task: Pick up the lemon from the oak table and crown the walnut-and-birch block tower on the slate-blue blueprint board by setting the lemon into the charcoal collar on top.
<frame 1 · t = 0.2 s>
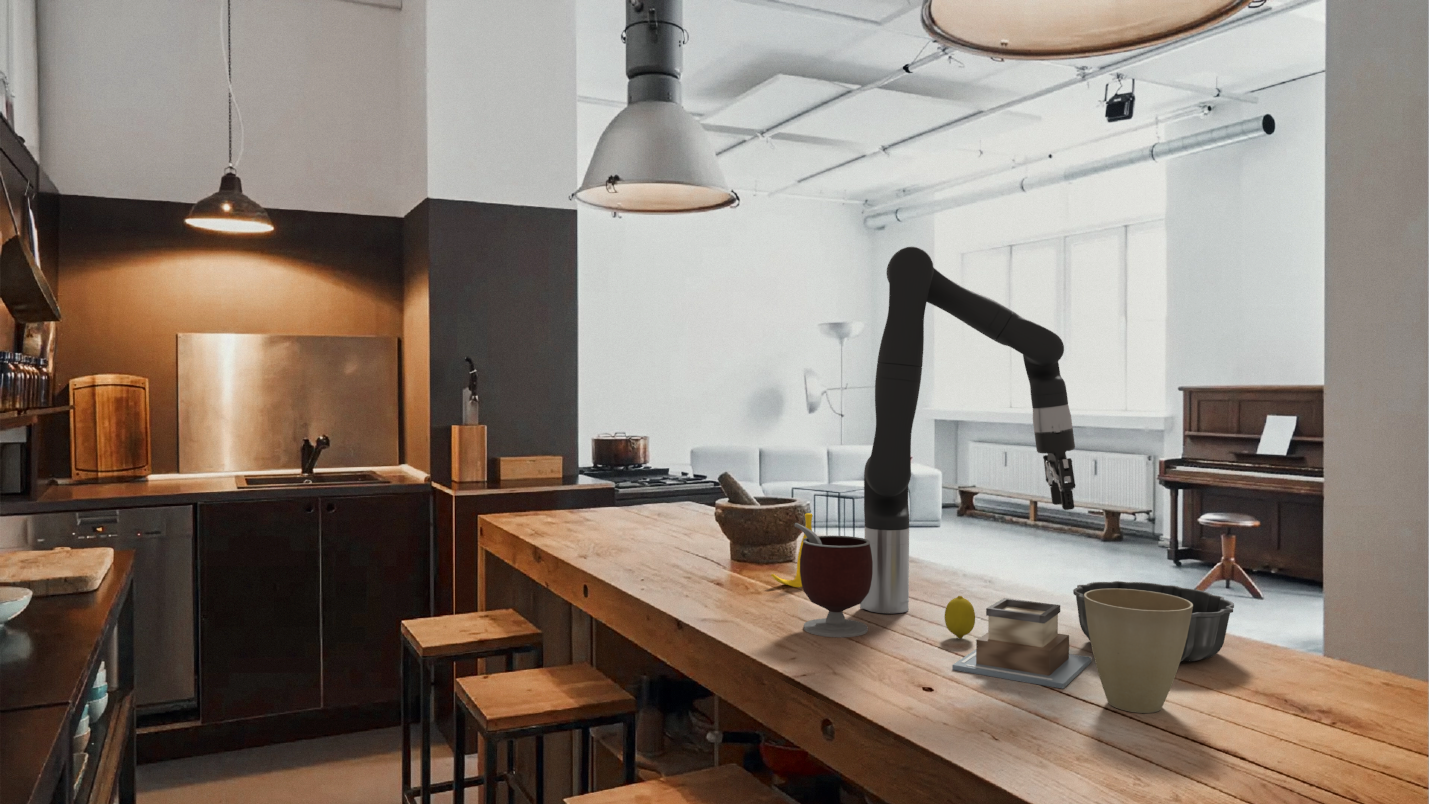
hand: (1063, 506, 205), 22 cm above the counter, tool pointing down, fingers open, 8 cm apart
bundt pan: (1150, 651, 179), on the counter
blueprint board: (1022, 665, 169), on the counter
block tower: (1023, 633, 169), on the blueprint board, point 5 cm above the counter
mate gourd: (831, 629, 193), on the counter
plant pot: (1135, 706, 149), on the counter
lemon: (959, 639, 186), on the counter
banana peel: (800, 586, 235), on the counter
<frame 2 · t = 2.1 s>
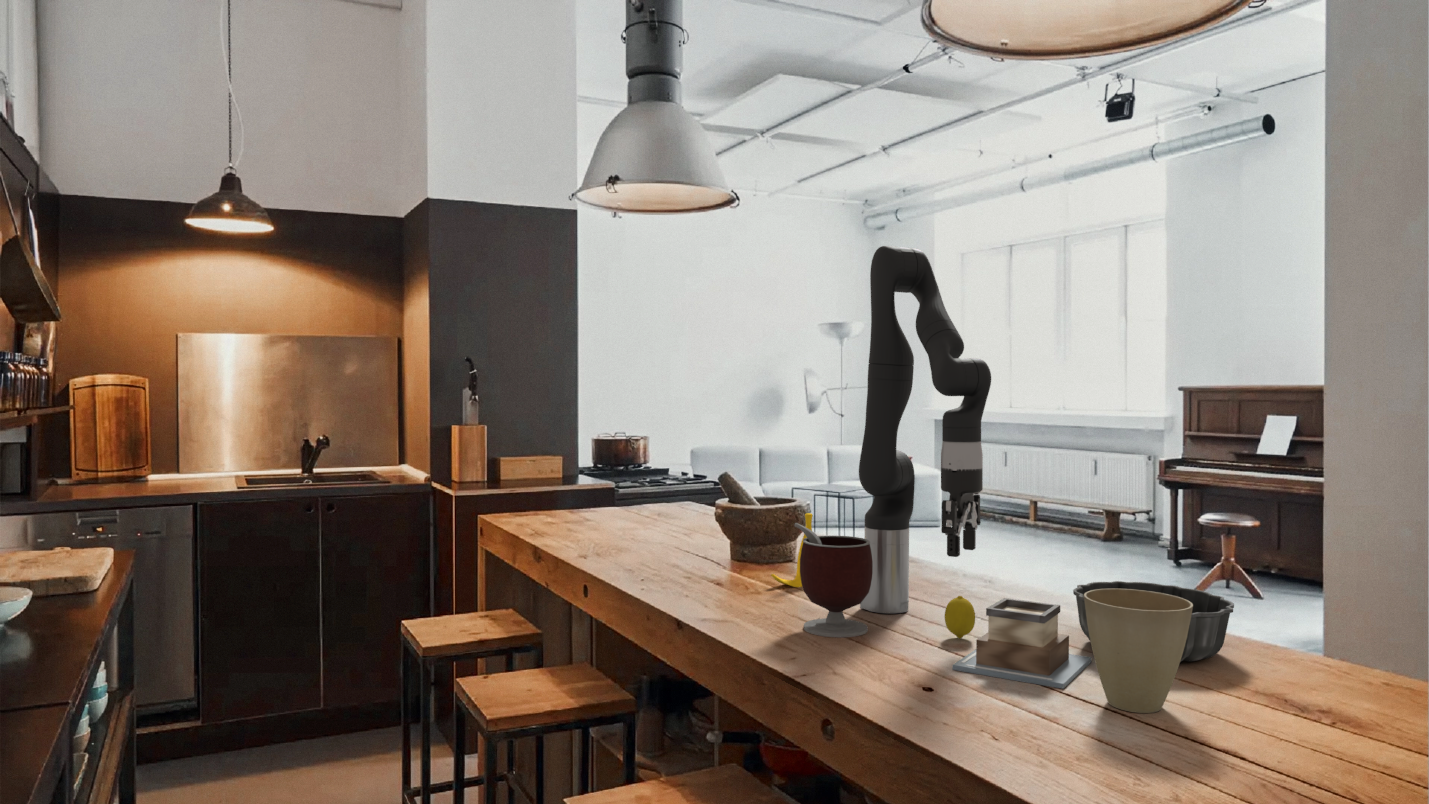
hand: (961, 553, 186), 16 cm above the counter, tool pointing down, fingers open, 8 cm apart
nothing on the counter moved.
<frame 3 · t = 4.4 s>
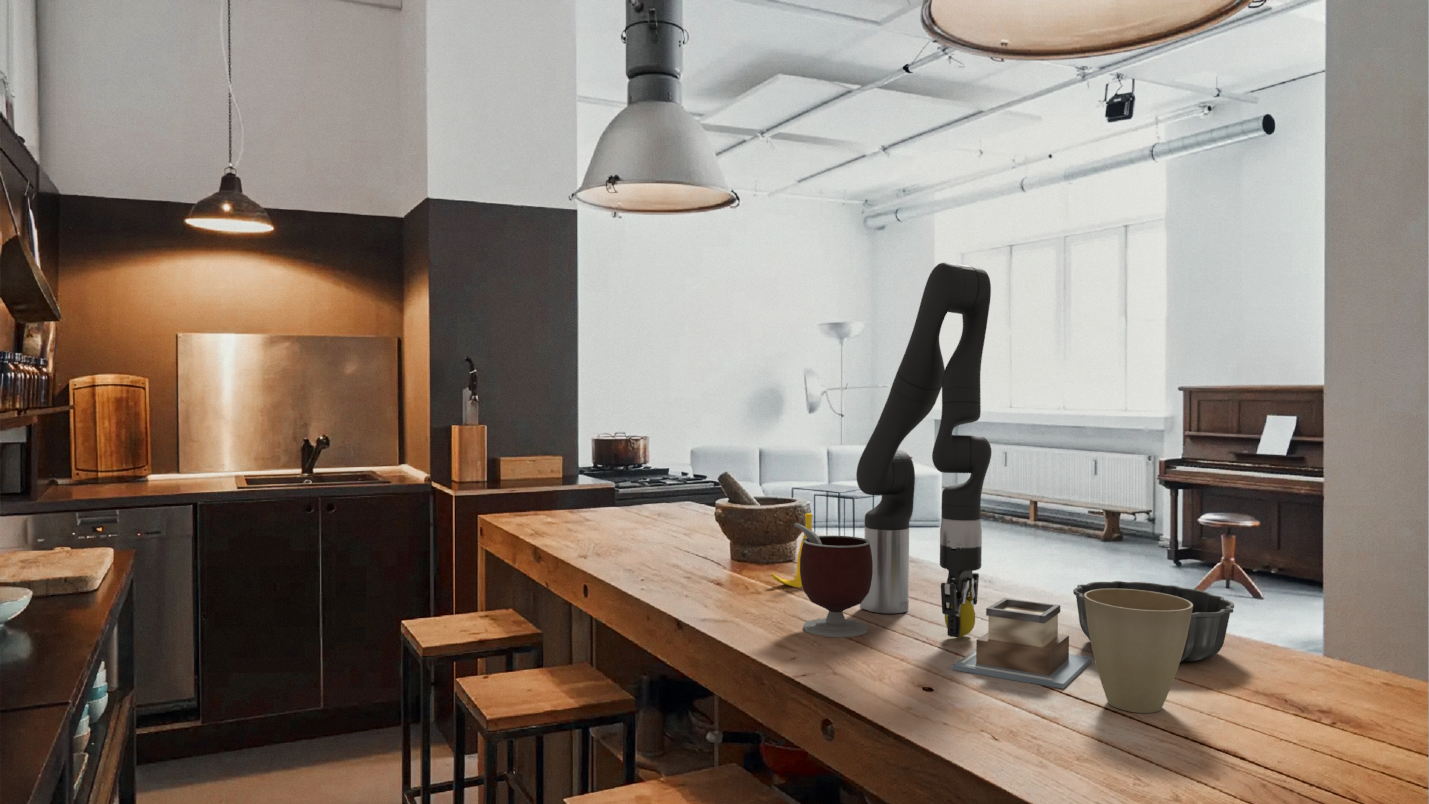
hand: (959, 632, 186), 1 cm above the counter, tool pointing down, fingers closed on lemon, 5 cm apart
lemon: (959, 639, 186), on the counter, touching gripper
everything else where it was.
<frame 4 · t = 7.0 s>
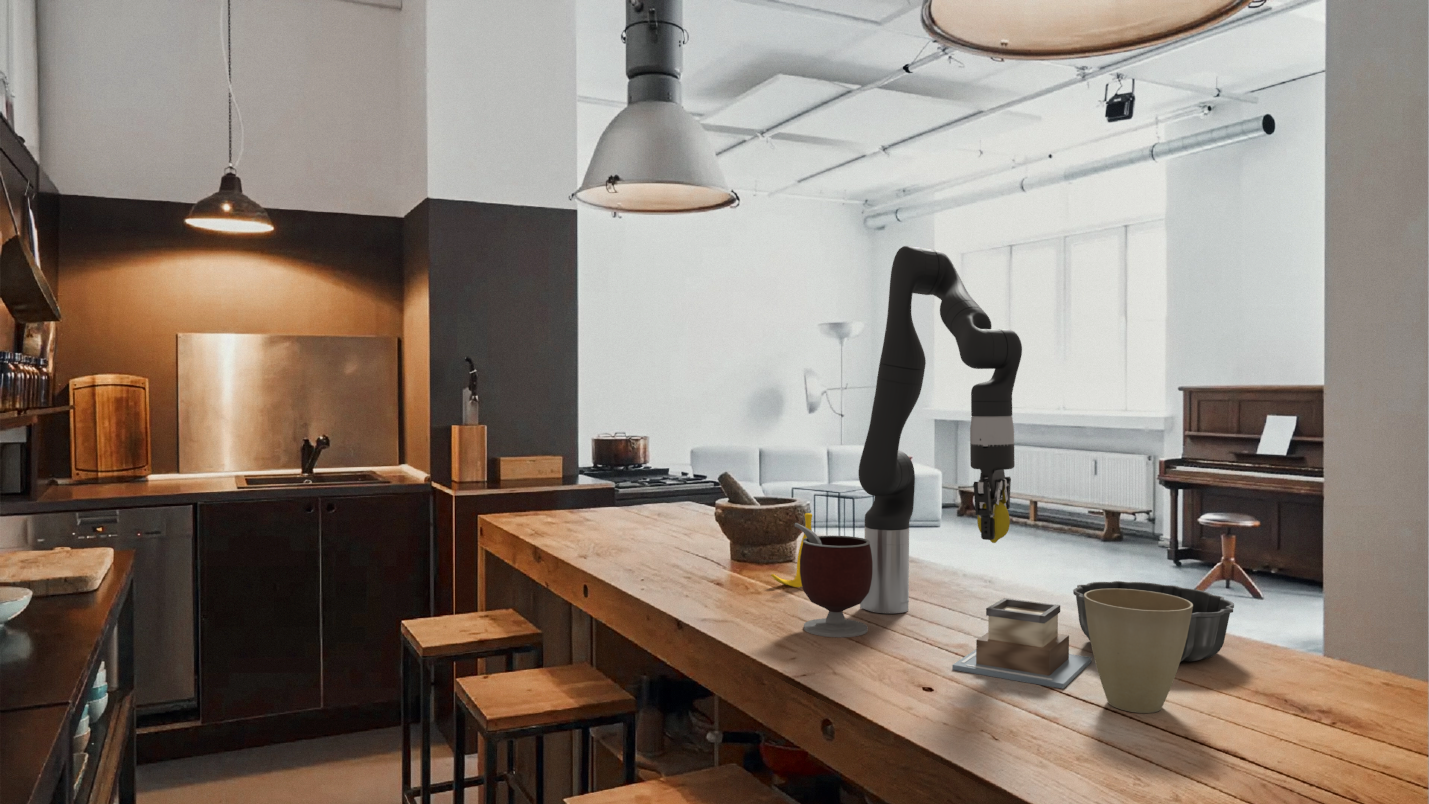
hand: (993, 536, 177), 20 cm above the counter, tool pointing down, fingers closed on lemon, 5 cm apart
lemon: (993, 544, 177), point 19 cm above the counter, touching gripper
everything else where it was.
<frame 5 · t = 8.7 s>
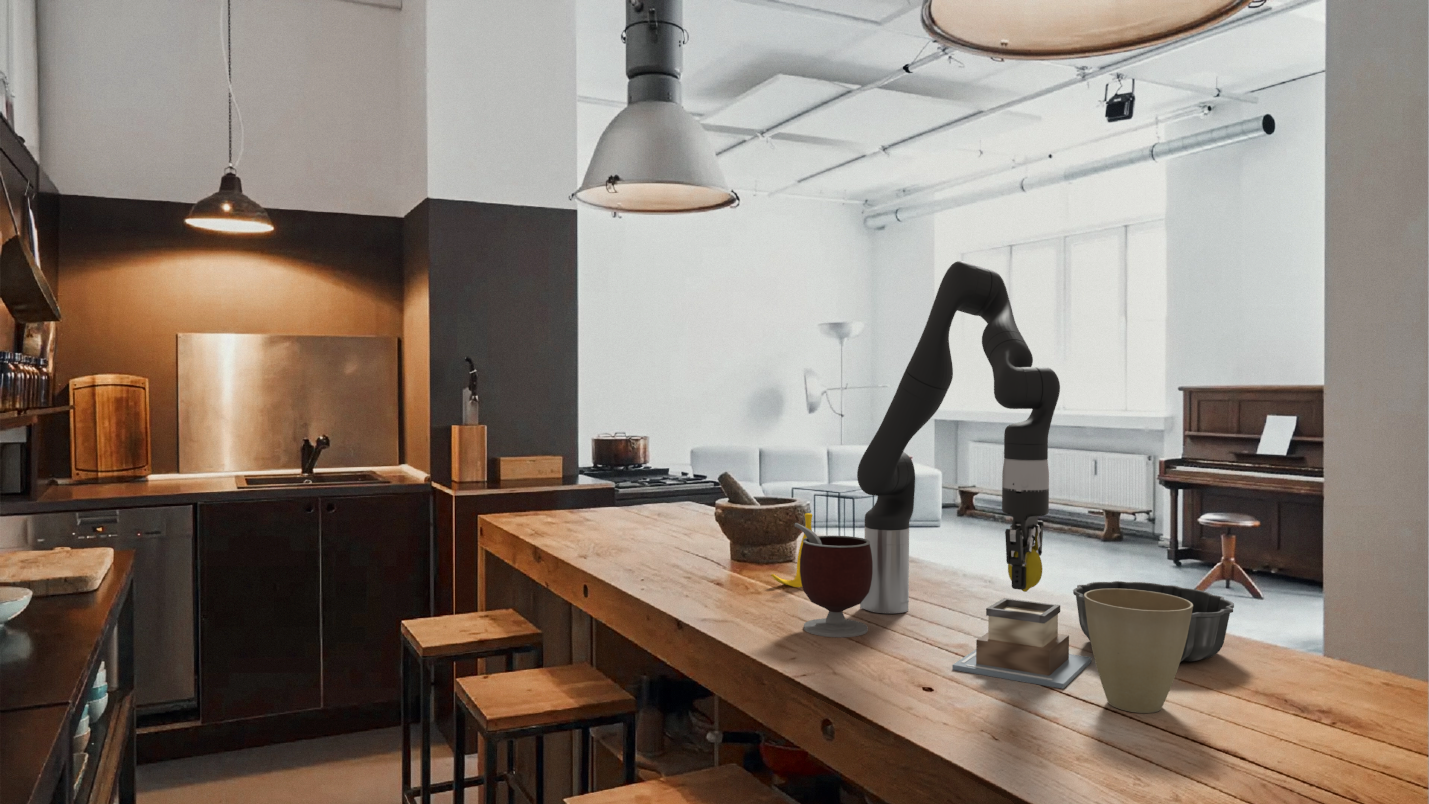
hand: (1024, 585, 169), 14 cm above the counter, tool pointing down, fingers closed on lemon, 5 cm apart
lemon: (1024, 593, 169), point 12 cm above the counter, touching gripper
everything else where it was.
when the fingers open (12 cm above the counter, at t = 9.9 s): lemon drops 2 cm, resting on block tower.
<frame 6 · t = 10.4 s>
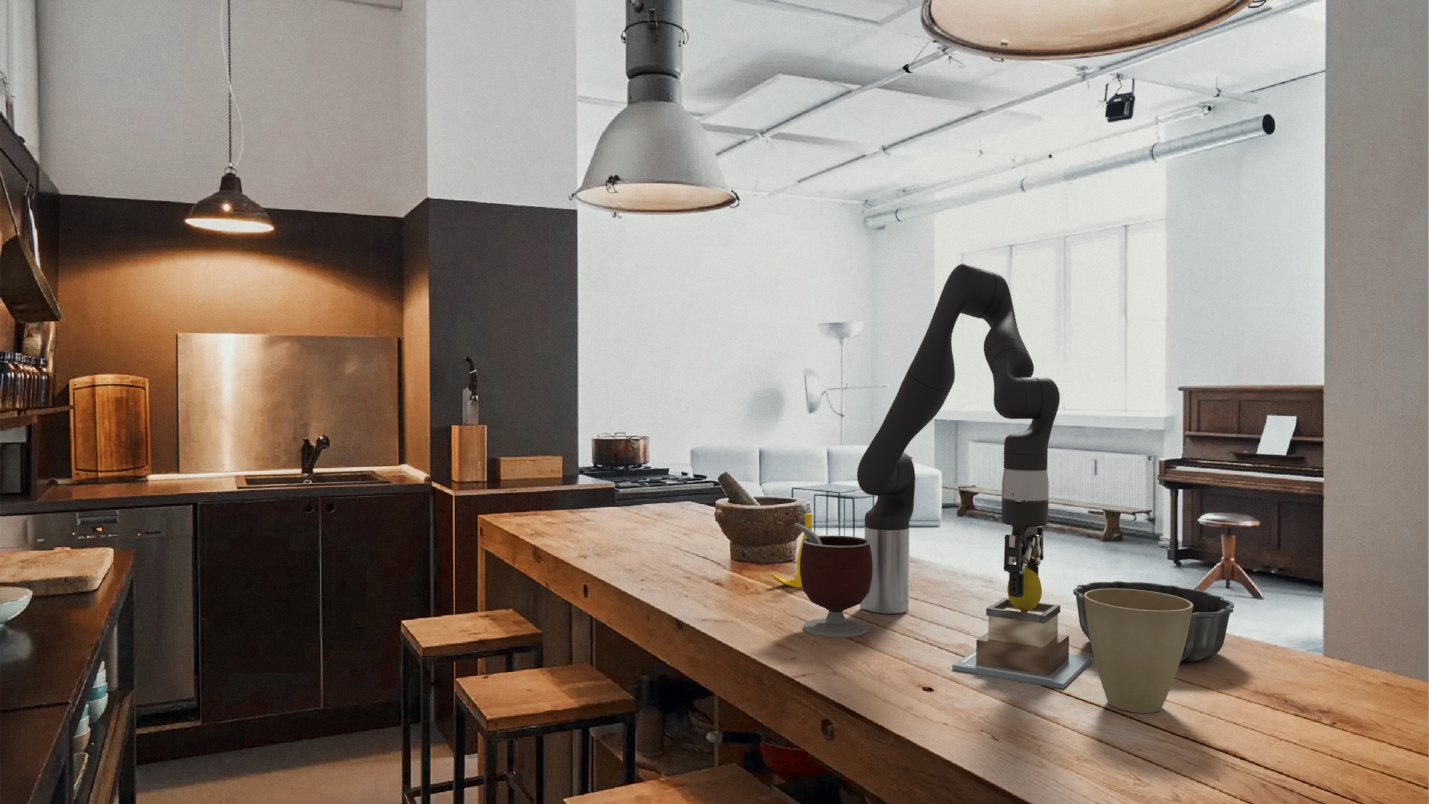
hand: (1023, 591, 169), 12 cm above the counter, tool pointing down, fingers open, 8 cm apart
lemon: (1024, 614, 169), point 9 cm above the counter, touching block tower
everything else where it was.
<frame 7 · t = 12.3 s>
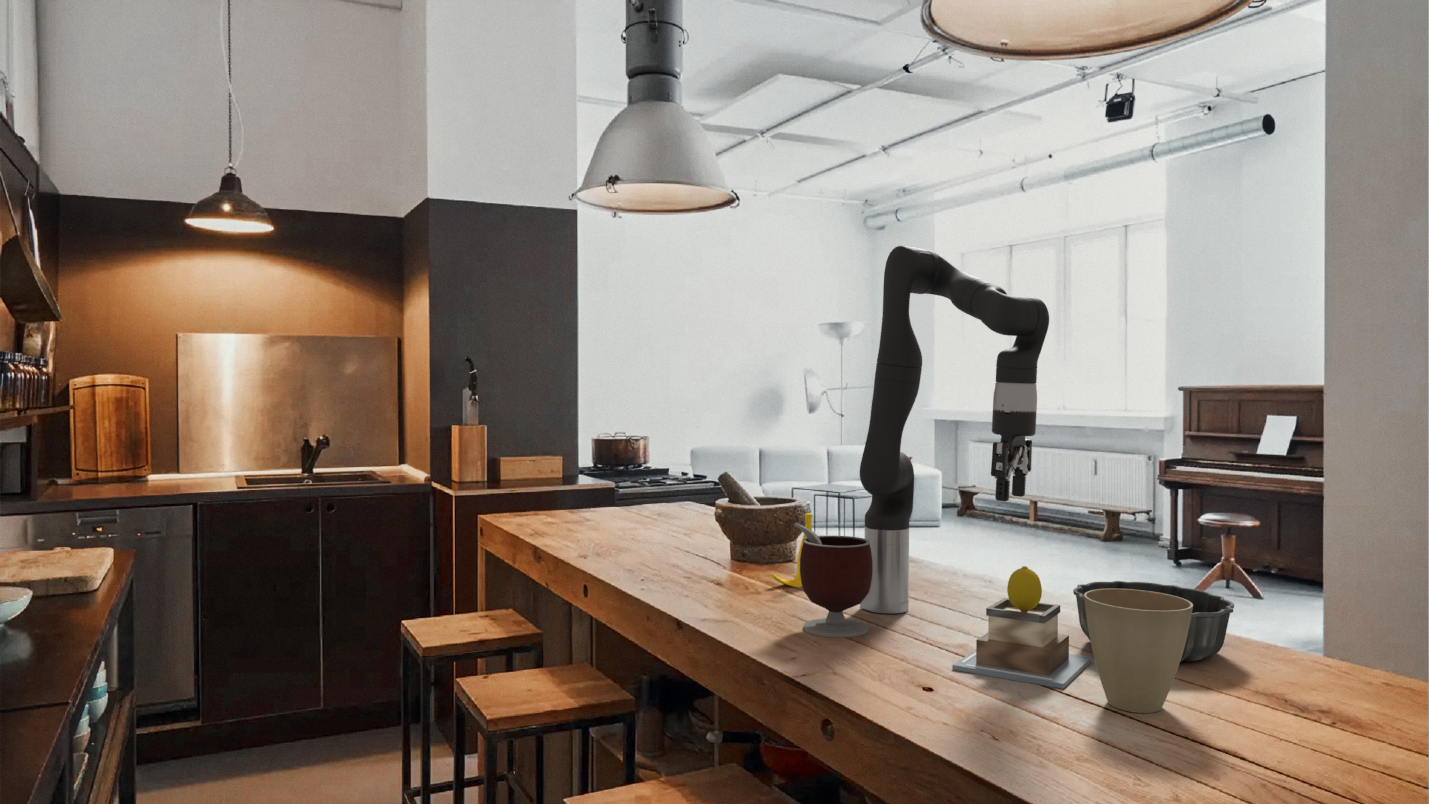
hand: (1010, 498, 180), 27 cm above the counter, tool pointing down, fingers open, 8 cm apart
nothing on the counter moved.
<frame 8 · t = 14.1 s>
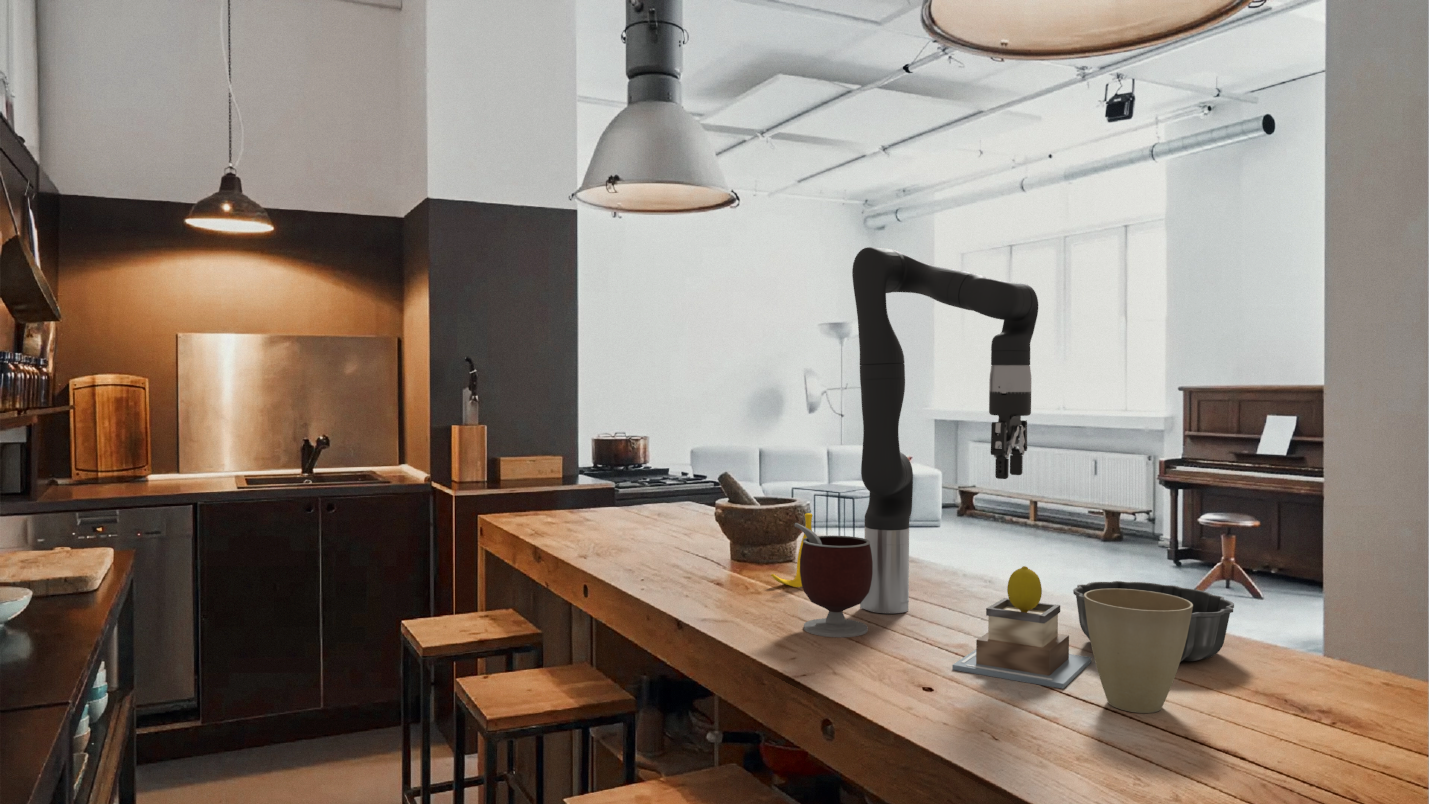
hand: (1009, 476, 187), 30 cm above the counter, tool pointing down, fingers open, 8 cm apart
nothing on the counter moved.
at the end: lemon 0.3 cm off-centre on the block tower, point 8.6 cm above the block tower's base; the gripper is holding nothing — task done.
